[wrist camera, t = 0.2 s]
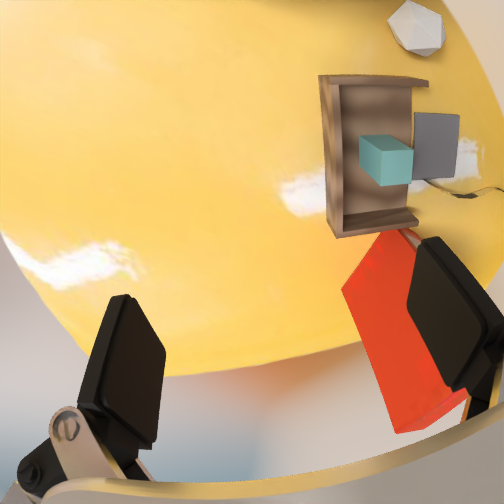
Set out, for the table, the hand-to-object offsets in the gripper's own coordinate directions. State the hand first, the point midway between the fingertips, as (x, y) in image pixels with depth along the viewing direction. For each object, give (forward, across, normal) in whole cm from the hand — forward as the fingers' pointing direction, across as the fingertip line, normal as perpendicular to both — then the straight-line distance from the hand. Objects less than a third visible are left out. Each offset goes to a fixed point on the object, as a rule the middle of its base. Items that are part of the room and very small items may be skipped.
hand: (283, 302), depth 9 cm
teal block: (+36, -19, +8) cm, 41 cm away
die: (+36, -27, -12) cm, 47 cm away
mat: (+36, -32, +8) cm, 49 cm away
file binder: (+37, -21, +31) cm, 53 cm away
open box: (+36, -19, +8) cm, 42 cm away
